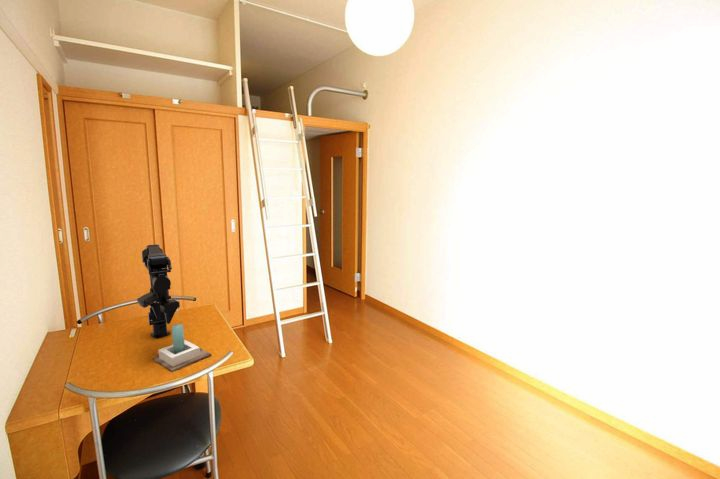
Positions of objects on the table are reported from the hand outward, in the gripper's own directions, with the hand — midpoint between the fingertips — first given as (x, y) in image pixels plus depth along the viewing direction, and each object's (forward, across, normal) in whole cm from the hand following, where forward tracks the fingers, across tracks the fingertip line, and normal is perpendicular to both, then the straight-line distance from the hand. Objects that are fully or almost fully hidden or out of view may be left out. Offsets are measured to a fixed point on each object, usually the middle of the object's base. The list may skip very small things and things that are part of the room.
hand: (163, 321), depth 147 cm
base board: (+13, +12, 0) cm, 18 cm away
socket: (+13, +12, 0) cm, 18 cm away
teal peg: (+12, +12, 0) cm, 17 cm away
